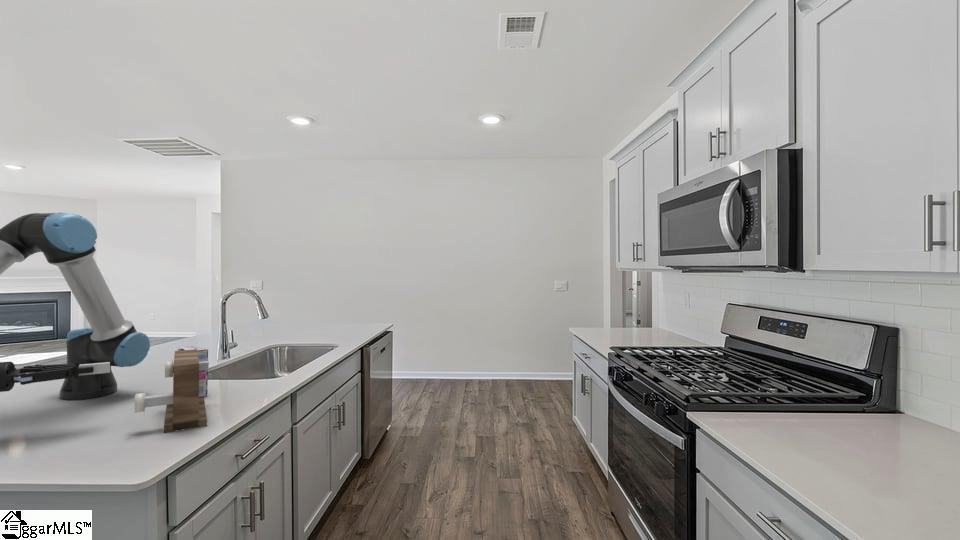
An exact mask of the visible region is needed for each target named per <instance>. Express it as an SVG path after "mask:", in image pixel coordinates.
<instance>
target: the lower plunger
mask: <svg viewBox="0 0 960 540" xmlns="http://www.w3.org/2000/svg"><path fill="white" fill-rule="evenodd" d="M134 395H135V396H134V413H135V414H136V413H142V412H143V413H144V412H145V411H146V408H152V407H158V406H159V407H160V406H167V405H169V404H173V392H172V393H164V394H155V395H148V396H146V392H141V393H135V394H134Z"/></svg>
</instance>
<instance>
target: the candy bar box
mask: <svg viewBox="0 0 960 540" xmlns="http://www.w3.org/2000/svg"><path fill="white" fill-rule="evenodd" d="M194 349H197V352H198V359H199V362H202V361H208V362H209V360H208V359H209V349H208V348H207V349H206V348H203V347H202V348H201V347H197V346H184V347H178V348H177V351H181V350H194ZM208 372H209V370H202V371H199V398H202V397H204V398H206V397H208V379H209V377H208V375H209V374H208Z"/></svg>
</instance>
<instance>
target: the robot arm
mask: <svg viewBox="0 0 960 540" xmlns="http://www.w3.org/2000/svg"><path fill="white" fill-rule="evenodd" d="M97 239H98V232H97V229H96V227H95V226H94V224H93V223H92V222H91V221H90V220H89V219H88V218H86V217H84V216H82V215H80V214H77V213H76V214H75V213H69V212H48V213H45V212H44V213H39V212H37V213H36V212H34V213H28V214H25V215H24V214H23V215H21V216H20V217H17V218H15V219H14V220H11V221H10V222H8V223H7V224H5V225H4V226H3V227H1V228H0V276H1V275H2V274H3V273H4V272H6V270H8V269H9V268H10V267H12V266H13V265H14V264H15V263H23V262H24V261H25V260H26V259H27V258H28V257H30V256H32V255H34V254H36V253H37V254H38V253H43V256H44V258H45V259H46V260H47V263H48V264H50V265H53V266H56V267H58V269H59V270H60V273H61V274H62V276H63V278H64V279H65V282H66V284H67V285H68V288H69V289H70V291H71V292H72V295H73V296H74V299H75V300H76V301H77V304H78V305H79V307H80V309H81V311H82V313H83V315H84V316H85V319H86V321H87V322H88V324H89V325H90V327H86V328H85V327H84V328H79V329H72V330H69V332H67V336H66V341H65V344H66V363H62V364H35V365H26V366H23V367H21V368H19V369H18V368H16V365H15V363H14V362H13V361H0V393H4V392H10V391H11V390H13V388H14V386H15V383H16V384H17V383H19V384H20V385H22V386H25V385H29V384H34V383H42V382H51V381H58V380H63V383H62V385H61V386H60V387H61V388H60V389H59V398H60V399H61V400H67V401H69V400H71V401H72V400H73V401H74V400H86V399H93V398H99V397H103V396H107V395H111V394H113V393H115V392H117V391H118V383H117V379H116V377H115V375H114V373H113V371H112V367H118V368H125V367H128V368H129V367H134V366H137V365H139V364H141V363H142V361H144V360H145V358H146V357H147V356H148V353H149V351H150V349H151V348H150V347H151V340H150V338H149V336H148V335H147V334H146V333H143V332H140V331H137V329H136V328H135V326H134V324H133V321H131V320H127V319H125V318H124V315H123V314H122V312H121V310H120V307H119V306H118V304H117V302H116V300H115V298H114V296H113V294H112V292H111V290H110V288H109V286H108V284H107V282H106V280H105V278H104V276H103V274H102V272H101V270H100V268H99V265H97V262H96V260H95V259H94V255H95V253H96V252H97V249H96V247H95V245H96V244H97V243H96V242H97V241H96V240H97Z"/></svg>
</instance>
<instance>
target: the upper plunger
mask: <svg viewBox="0 0 960 540" xmlns="http://www.w3.org/2000/svg"><path fill="white" fill-rule="evenodd" d="M173 365H174V360H165V362H164V378H173ZM202 370H208V371H209V370H210V369H209V360H208V361H202V362H199V371H202Z"/></svg>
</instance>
